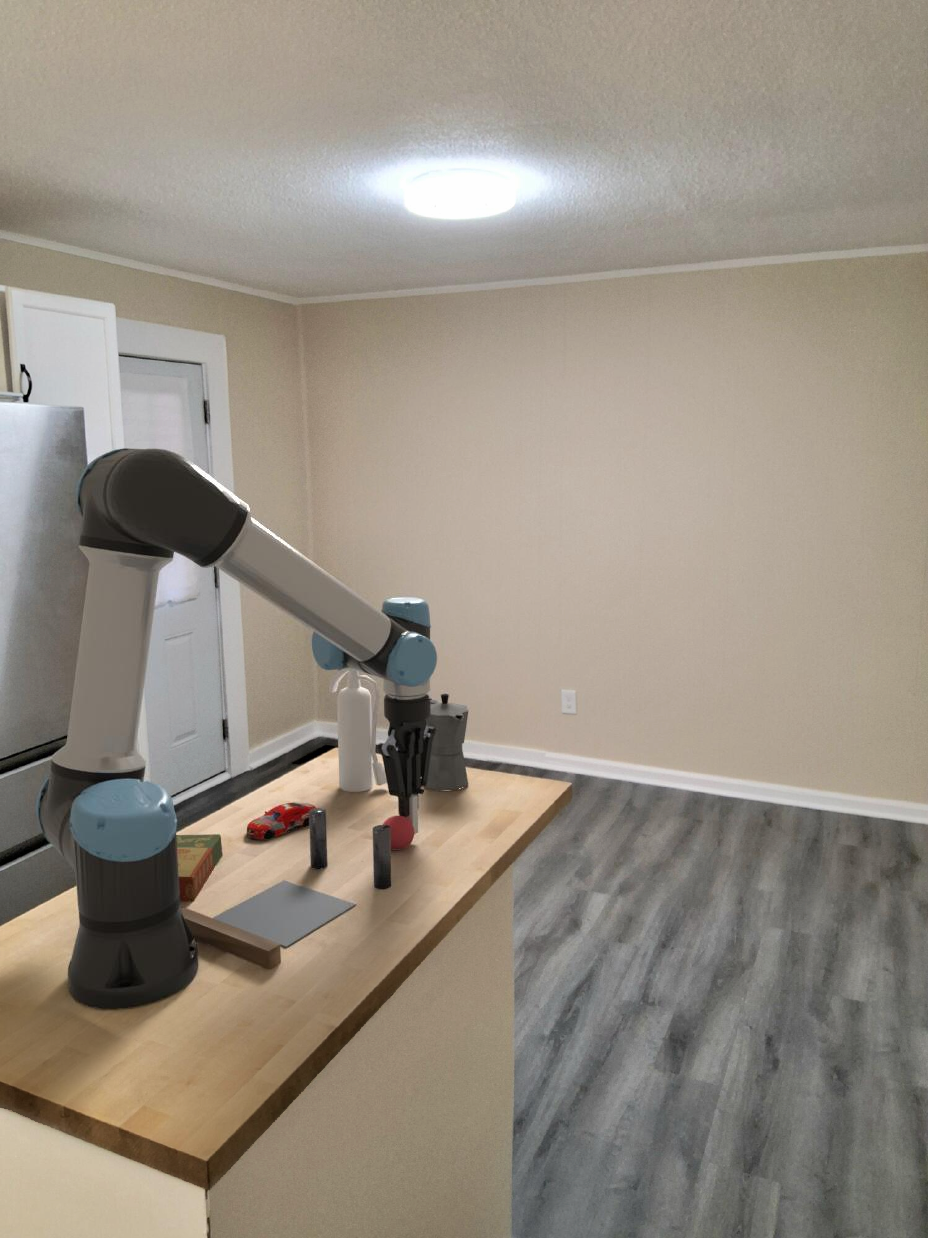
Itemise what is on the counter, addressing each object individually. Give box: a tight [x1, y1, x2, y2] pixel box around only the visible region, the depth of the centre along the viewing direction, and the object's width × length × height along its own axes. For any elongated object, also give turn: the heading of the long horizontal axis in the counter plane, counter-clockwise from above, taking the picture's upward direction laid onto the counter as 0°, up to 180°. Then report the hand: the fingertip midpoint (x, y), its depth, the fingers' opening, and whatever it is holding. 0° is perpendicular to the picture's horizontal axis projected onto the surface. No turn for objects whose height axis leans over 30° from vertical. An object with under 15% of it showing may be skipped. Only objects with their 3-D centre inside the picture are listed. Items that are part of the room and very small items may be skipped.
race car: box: [246, 801, 317, 841], centre depth 162 cm, size 13×5×4 cm, turn 133°
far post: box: [308, 807, 329, 870], centre depth 146 cm, size 3×3×9 cm
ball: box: [382, 815, 415, 851], centre depth 153 cm, size 6×6×6 cm
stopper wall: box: [181, 907, 282, 970], centre depth 123 cm, size 2×18×2 cm, turn 56°
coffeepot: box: [425, 693, 469, 792], centre depth 183 cm, size 15×9×18 cm, turn 29°
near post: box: [372, 824, 392, 891], centre depth 139 cm, size 3×3×9 cm
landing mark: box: [212, 879, 357, 949], centre depth 132 cm, size 14×14×1 cm
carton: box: [176, 833, 224, 902], centre depth 143 cm, size 8×16×4 cm, turn 0°
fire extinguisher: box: [328, 668, 387, 793], centre depth 180 cm, size 7×12×25 cm, turn 69°
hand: (408, 832), depth 156 cm, fingers closed
